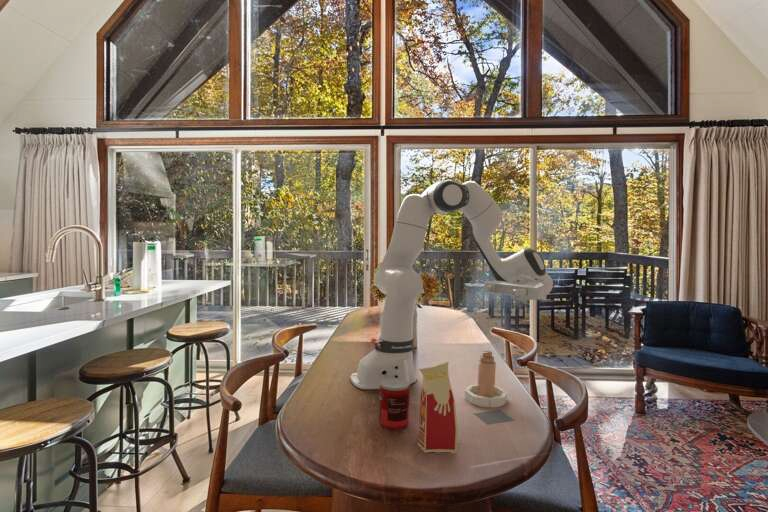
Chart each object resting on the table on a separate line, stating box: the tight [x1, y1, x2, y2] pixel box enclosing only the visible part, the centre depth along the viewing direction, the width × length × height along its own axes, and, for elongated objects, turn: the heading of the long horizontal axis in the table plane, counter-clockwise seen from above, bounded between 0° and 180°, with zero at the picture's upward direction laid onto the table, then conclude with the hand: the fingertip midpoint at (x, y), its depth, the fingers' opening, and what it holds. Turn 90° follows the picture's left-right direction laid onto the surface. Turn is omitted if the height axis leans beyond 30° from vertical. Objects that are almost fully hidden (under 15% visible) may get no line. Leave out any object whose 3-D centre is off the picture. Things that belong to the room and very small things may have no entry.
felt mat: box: [473, 409, 516, 425], centre depth 118 cm, size 8×7×1 cm
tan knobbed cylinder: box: [477, 350, 496, 398], centre depth 130 cm, size 5×5×14 cm
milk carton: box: [417, 361, 458, 454], centre depth 102 cm, size 9×9×20 cm
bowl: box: [464, 383, 508, 408], centre depth 130 cm, size 12×12×3 cm
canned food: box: [378, 378, 410, 431], centre depth 113 cm, size 8×8×11 cm
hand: (501, 291), depth 138 cm, fingers open, 8 cm apart
